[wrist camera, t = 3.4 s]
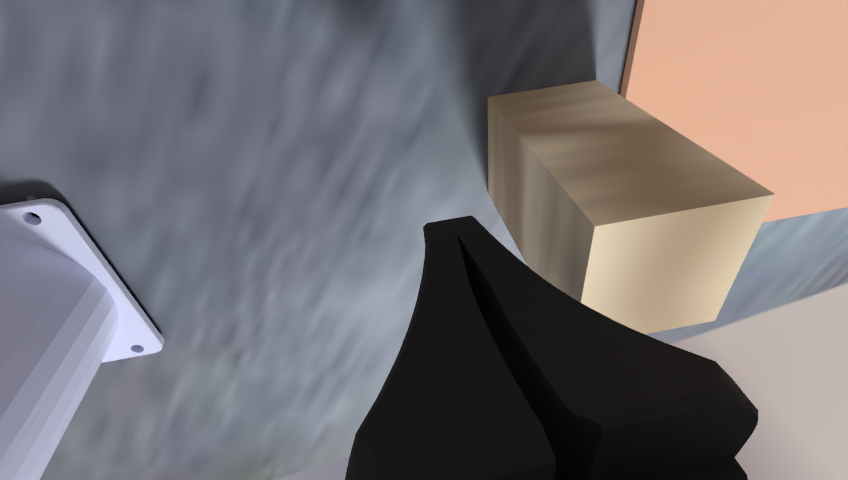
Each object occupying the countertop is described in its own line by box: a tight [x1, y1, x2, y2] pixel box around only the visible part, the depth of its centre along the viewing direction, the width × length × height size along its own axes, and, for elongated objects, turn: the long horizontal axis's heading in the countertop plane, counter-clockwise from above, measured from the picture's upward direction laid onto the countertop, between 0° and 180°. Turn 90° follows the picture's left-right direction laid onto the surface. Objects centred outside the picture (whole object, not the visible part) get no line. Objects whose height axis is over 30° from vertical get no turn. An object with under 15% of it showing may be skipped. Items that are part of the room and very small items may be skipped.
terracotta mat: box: [620, 0, 848, 223], centre depth 17 cm, size 14×12×1 cm
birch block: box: [488, 80, 775, 334], centre depth 13 cm, size 4×4×8 cm
